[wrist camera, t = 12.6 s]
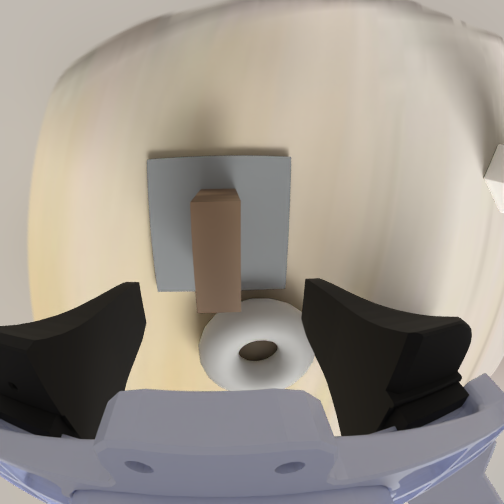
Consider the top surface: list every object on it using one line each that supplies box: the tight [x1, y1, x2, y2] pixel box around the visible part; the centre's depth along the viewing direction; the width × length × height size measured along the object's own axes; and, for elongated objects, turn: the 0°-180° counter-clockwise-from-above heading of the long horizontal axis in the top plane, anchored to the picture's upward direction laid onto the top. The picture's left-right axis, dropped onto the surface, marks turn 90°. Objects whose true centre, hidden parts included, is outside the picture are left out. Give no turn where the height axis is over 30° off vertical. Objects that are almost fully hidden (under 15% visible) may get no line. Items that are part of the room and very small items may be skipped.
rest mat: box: [147, 156, 291, 292], centre depth 19 cm, size 10×10×1 cm
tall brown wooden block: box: [190, 189, 241, 313], centre depth 16 cm, size 2×6×6 cm, turn 0°
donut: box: [199, 298, 315, 391], centre depth 22 cm, size 10×4×10 cm
